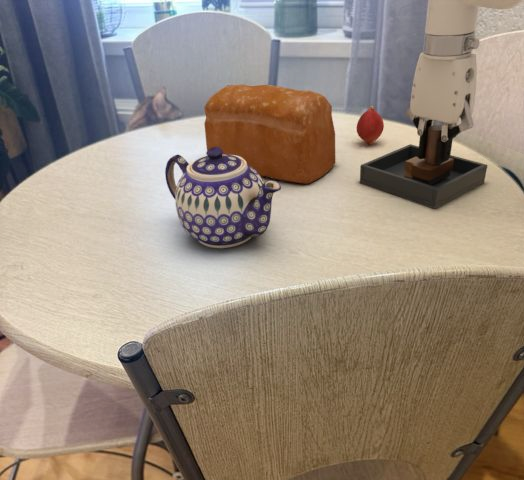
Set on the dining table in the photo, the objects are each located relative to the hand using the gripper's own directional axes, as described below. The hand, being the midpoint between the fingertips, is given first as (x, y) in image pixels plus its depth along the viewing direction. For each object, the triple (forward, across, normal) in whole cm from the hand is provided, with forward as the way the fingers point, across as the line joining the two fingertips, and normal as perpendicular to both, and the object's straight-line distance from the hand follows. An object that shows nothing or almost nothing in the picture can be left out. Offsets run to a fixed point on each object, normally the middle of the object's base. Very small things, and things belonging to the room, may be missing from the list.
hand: (433, 158), depth 96 cm
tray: (+5, +2, 0) cm, 6 cm away
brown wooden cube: (+4, +4, 0) cm, 5 cm away
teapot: (+5, +13, +38) cm, 41 cm away
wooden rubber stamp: (+4, 0, 0) cm, 4 cm away
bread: (+5, +31, +13) cm, 34 cm away
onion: (+5, +24, -10) cm, 27 cm away
